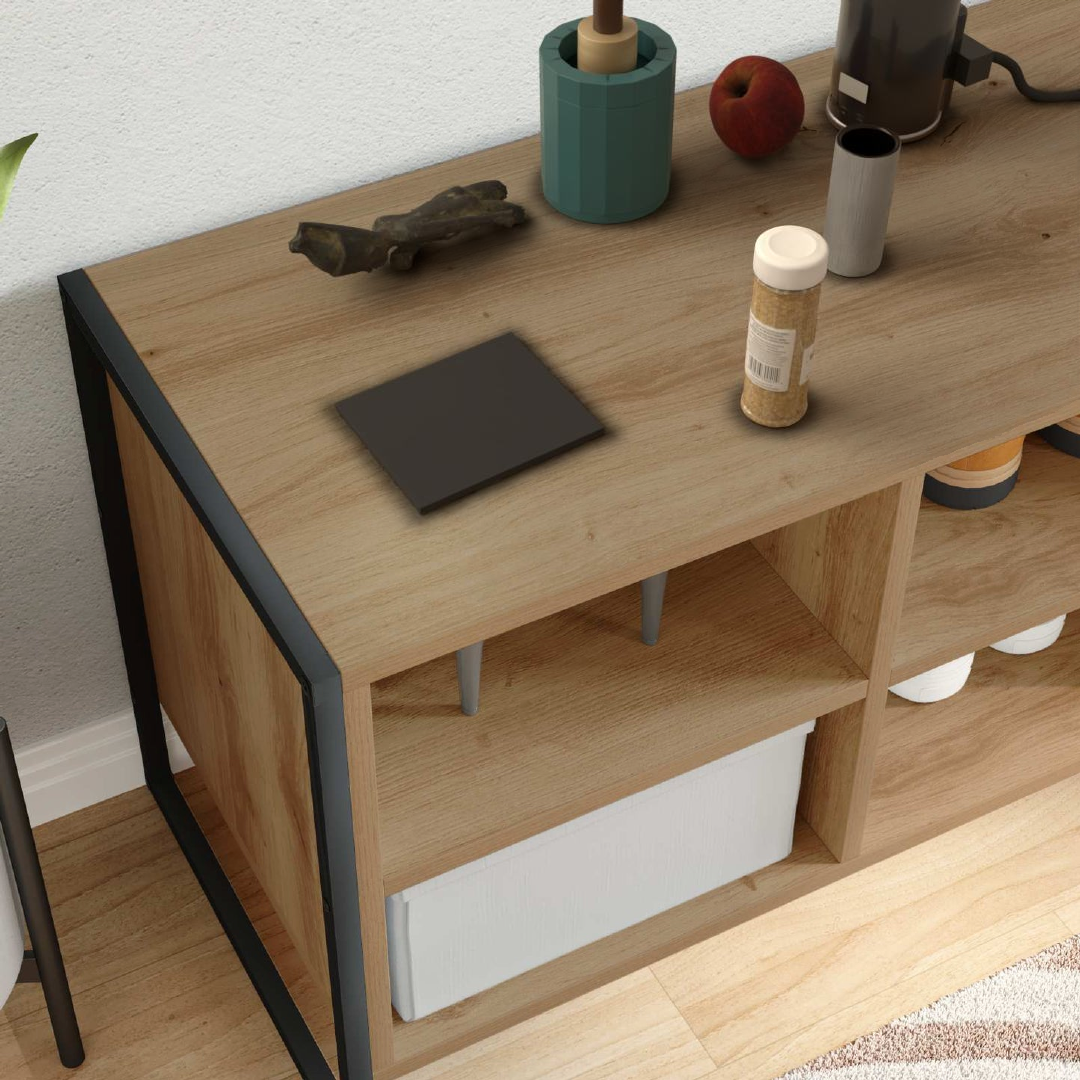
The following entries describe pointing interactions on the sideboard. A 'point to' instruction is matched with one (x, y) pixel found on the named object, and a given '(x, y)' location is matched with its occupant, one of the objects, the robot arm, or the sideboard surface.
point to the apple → (756, 106)
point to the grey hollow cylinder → (860, 197)
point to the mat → (467, 421)
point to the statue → (405, 230)
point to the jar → (606, 128)
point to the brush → (607, 40)
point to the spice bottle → (783, 324)
